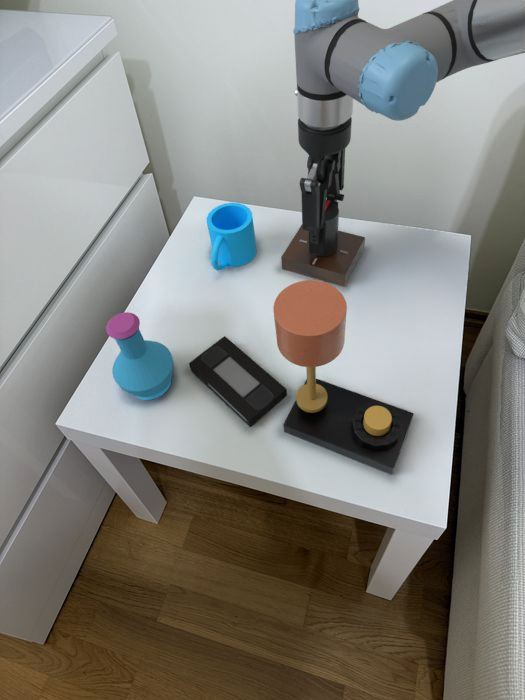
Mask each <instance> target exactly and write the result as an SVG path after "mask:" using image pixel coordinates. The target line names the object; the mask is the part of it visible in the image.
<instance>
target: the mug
mask: <svg viewBox="0 0 525 700" xmlns="http://www.w3.org/2000/svg"><path fill="white" fill-rule="evenodd" d="M206 226H207V230H208V235H209V239H210V243H211V253H210V264H211V267H212V268H213V269H214V270H216V271H219V272H220V271H223V270H225V269H226V268H240V267H243V266H246V265H247V264H249V263H250V262H252V261H253V260H255V258H256V255H257V254H258V249H257V248H258V247H257V242H256V241H257V240H256V233H255V226H254V218H253V212H252V210H251V209H250V208H249V206H247V205H246V204H243V203H239V202H226V203H222V204H218V206H215V207H214V208H212V209H211V210H210V211H209V212H208V214H207V216H206Z"/></svg>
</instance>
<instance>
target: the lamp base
mask: <svg viewBox="0 0 525 700" xmlns="http://www.w3.org/2000/svg"><path fill="white" fill-rule="evenodd" d="M304 384H307V378H306V379H305V381H304V383H303V385H304ZM316 384H319V385H321V386H322V387H323V388H324V389H325V390H326V392H327V395H328V399H327V404H326V406H325V407H324V408H323V409H322V410H320V411H318V412H314V413H310V412H306V411H303V410H302V409H301V408H300V407H299V406H298V404H297V402H296V400H295V402H294V403H293V405H292V407H291V408H290V411H289V412H288V414H287V416H286V418H285V421H284V423H283V424H282V426H283V427H282V428H283V432H284V433H286V434H289V435H291V436H294V437H296V438H299V439H301V440H303V441H306V442H308V443H311V444H314V445H316V446H319V447H321V448H324V449H326V450H329V451H331V452H333V453H336V454H339V455H340V456H343V457H347V458H348V459H351V460H354V461H356V462H358V463H361V464H363V465H366V466H369V467H371V468H374V469H376V470H378V471H381V472H384V473H387V474H389V475H391V476H392V475H393V474H394V471H395V469H396V468H395V467H396V465H397V462H398V459H399V456H400V454H401V451H402V448H403V445H404V443H405V440H406V437H407V435H408V432H409V429H410V426H411V424H412V421H413V417H414V414H415V413H414V412H412V411H409V410H406V409H403V408H402V407H401V408H400V407H397V406H395V405H392V404H389V403H386V402H384V401H381V400H378V399H375V398H373V397H369V396H367V395H364V394H361V393H359V392H356V391H353V390H349V389H347V388H344V387H341V386H339V385H336V384H333V383H330V382H328V381H325V380H322V379H319V378H316ZM372 406H382V407H384V408H386V409H387V410H388V411H389V412H390V414H391V416H392V422H391V426H390V429H389V431H388V432H387V433H386V434H385V435H382V436H373V435H371V434H369V433H368V432H367V431H366V430H365V429H364V426H363V420H364V414H365V412H366V410H367V409H368V408H370V407H372Z"/></svg>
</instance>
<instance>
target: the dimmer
mask: <svg viewBox="0 0 525 700" xmlns="http://www.w3.org/2000/svg"><path fill="white" fill-rule="evenodd" d="M326 200H327V199H326ZM339 218H340V209H339V206H338V207H337V205H335V204H334V203H332V202H331V201H330V200H327V201H326V205H325V214H324V224H326V245H325V255H324V256H329V255H332V254H333V253H335V252H336V250H337V248H338V230H339V221H340V219H339ZM313 254H314V253H313ZM315 255H317V256H322V255H318V254H315ZM324 256H322V257H324Z"/></svg>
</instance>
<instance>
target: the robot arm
mask: <svg viewBox="0 0 525 700" xmlns="http://www.w3.org/2000/svg"><path fill="white" fill-rule="evenodd" d="M359 12H360V5H359V0H295V1H294V28H293V29H292V30H293V31H292V32H293V35H294V55H295V56H294V57H295V73H296V74H295V77H296V88H295V91H294V95H295V96H296V97H297V117H298V119H297V136H298V144H299V146H300V147H301V149H302V150H303V151H304V152H305V153H306V154H307V155H308V156H307V163H306V168H307V177H306V178H305V177H301V178H300V180H299V188H300V193H301V225H302V229H303V230H305V231H309V252H310V253H314V254H318V255H322V256H324V255H325V245H326V224H324V214H325V205H326V201H327V200H330V201H331V202H332V203H334V204H335V205H337V207H338V208H339V202H340V201H341V202H343V201H344V198H345V194H343V193H341V192H342V191H343V190H344V189H345V166H346V165H345V163H346V149H347V147H348V146H349V145H350V143H351V138H352V123H353V122H352V121H353V119H352V116H353V113H354V110H353V109H354V100H355V101H356V102H358V103H360V104H361V105H362V106H364V107H365V109H368V111H371V112H372V113H376V114H380V115H381V116H383V117H386V118H387V119H390V120H391V121H405V120H408V119H410V118H412V117H414V116H415V115H416V114H417V113H418V112H419V109H420V108H421V107H422V106H425V105H426V104H427V103H428V102H429V100H430V98H431V97H432V95H433V92H434V90H435V88H436V84H437V83H439V82H440V81H443V80H444V79H446V78H447V77H450V76H452V75H454V74H458V73H459V72H461V71H464V70H466V69H469V68H470V69H471V68H473V67H476V66H481V65H484V64H489V63H491V62H496V61H499V60H501V59H505V58H509V57H513V56H518V55H522V54H525V0H450V1H448V2H446V3H444V4H442V5H440V6H438V7H435V8H433V9H431V10H429V11H426V12H423V13H421V14H419V15H416V16H414V17H412V18H410V19H407V20H405V21H403V22H399V23H398V24H395V25H394V26H391V27H388V28H382V27H379V26H378V25H375V24H373V23H371V22H368V21H367V20H364V19H363V18H360V17H359Z"/></svg>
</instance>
